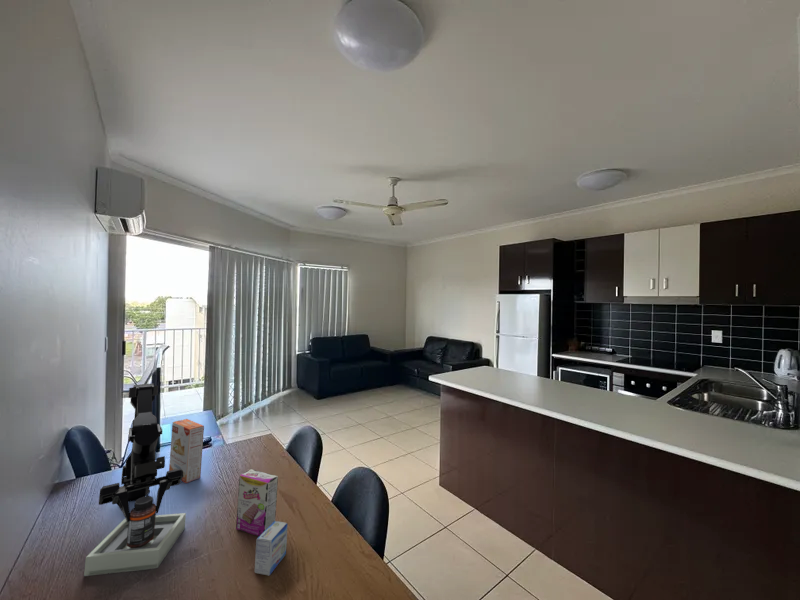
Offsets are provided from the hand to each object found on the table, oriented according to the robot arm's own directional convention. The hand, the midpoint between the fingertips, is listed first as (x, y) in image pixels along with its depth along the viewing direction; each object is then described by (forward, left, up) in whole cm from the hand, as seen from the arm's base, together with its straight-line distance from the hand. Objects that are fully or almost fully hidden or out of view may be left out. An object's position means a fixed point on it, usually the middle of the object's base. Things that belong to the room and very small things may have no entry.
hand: (143, 517), depth 88 cm
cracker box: (-7, +44, -9) cm, 46 cm away
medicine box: (+35, -10, -9) cm, 38 cm away
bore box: (-1, +1, -9) cm, 9 cm away
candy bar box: (+28, +5, -9) cm, 30 cm away
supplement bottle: (-1, +1, -7) cm, 8 cm away
